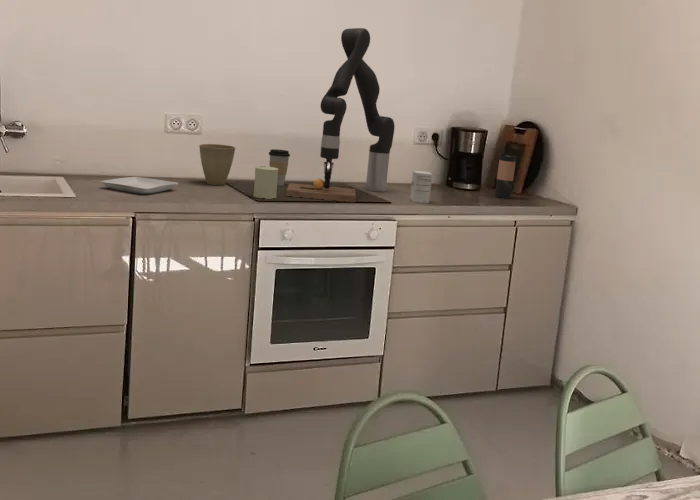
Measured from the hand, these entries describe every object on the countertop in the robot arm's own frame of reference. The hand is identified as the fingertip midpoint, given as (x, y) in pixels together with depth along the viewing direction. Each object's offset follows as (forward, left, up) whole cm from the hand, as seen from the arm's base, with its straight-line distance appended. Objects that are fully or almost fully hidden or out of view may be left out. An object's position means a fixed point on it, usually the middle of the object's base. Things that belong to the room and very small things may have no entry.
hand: (326, 188), depth 331 cm
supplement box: (-9, +40, -4) cm, 41 cm away
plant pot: (-6, -47, -4) cm, 47 cm away
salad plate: (+25, -71, -4) cm, 75 cm away
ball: (0, -3, +1) cm, 4 cm away
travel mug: (-44, +83, -4) cm, 94 cm away
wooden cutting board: (0, -2, -3) cm, 4 cm away
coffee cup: (-20, -22, -4) cm, 30 cm away
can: (+16, -24, -4) cm, 29 cm away
